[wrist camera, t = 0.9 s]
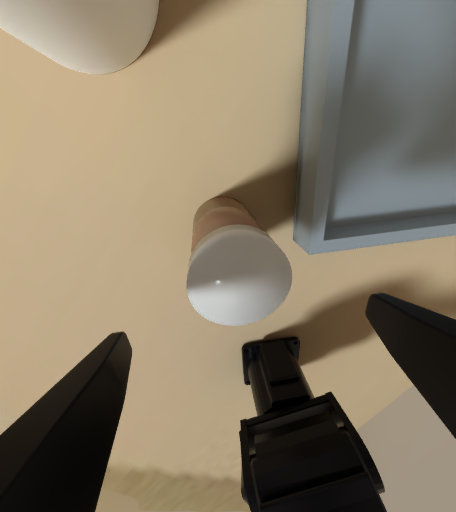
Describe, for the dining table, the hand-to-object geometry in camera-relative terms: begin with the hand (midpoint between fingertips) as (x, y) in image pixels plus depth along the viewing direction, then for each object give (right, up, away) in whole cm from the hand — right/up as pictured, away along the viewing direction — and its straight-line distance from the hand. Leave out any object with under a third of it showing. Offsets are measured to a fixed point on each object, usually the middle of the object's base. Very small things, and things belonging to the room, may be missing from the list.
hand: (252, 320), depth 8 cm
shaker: (-1, +5, +9) cm, 11 cm away
